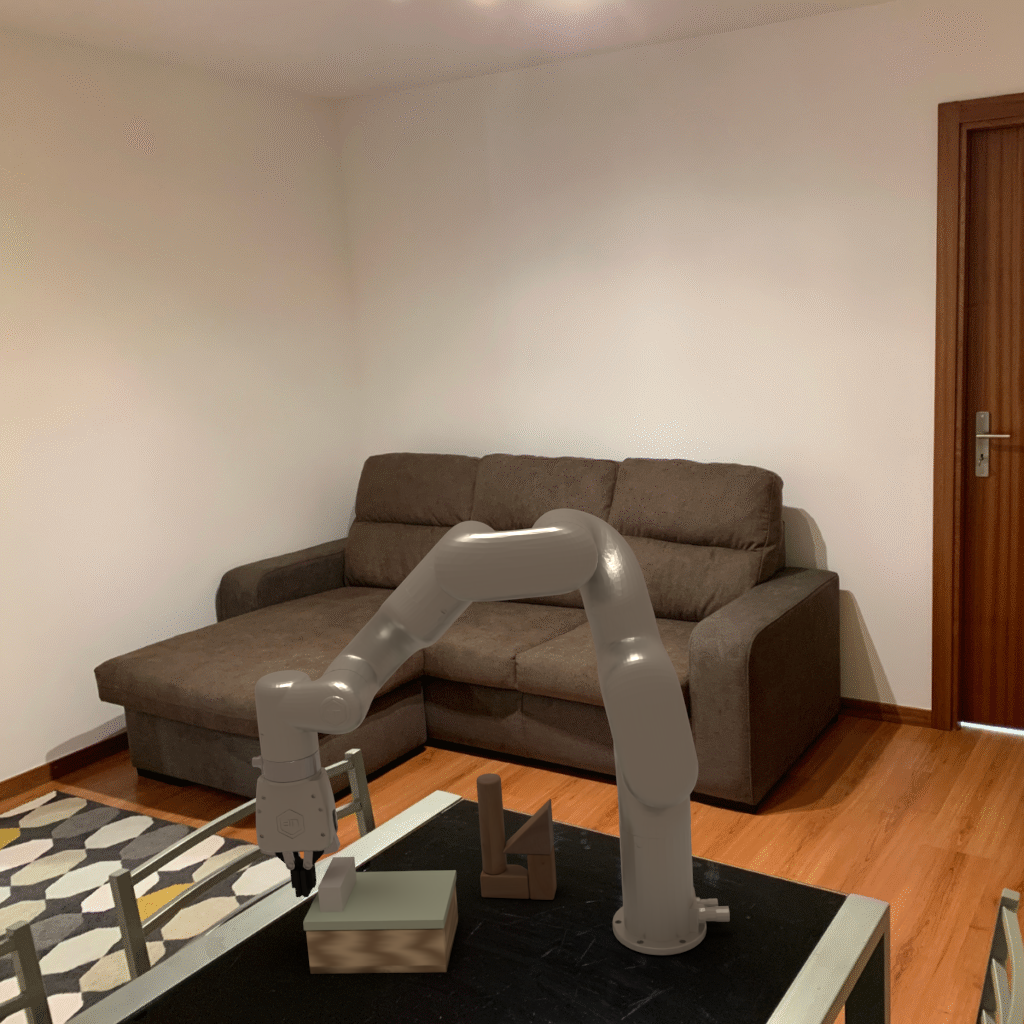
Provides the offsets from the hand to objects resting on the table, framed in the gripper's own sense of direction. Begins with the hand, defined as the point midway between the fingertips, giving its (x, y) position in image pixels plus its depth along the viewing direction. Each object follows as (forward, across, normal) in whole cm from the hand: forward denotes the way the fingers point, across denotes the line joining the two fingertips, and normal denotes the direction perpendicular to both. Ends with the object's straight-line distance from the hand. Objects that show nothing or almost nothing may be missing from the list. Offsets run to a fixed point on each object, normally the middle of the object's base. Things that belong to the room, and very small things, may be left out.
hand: (305, 891), depth 138 cm
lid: (+2, +11, 0) cm, 11 cm away
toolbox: (+8, +11, 0) cm, 13 cm away
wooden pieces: (+8, +28, +13) cm, 32 cm away
